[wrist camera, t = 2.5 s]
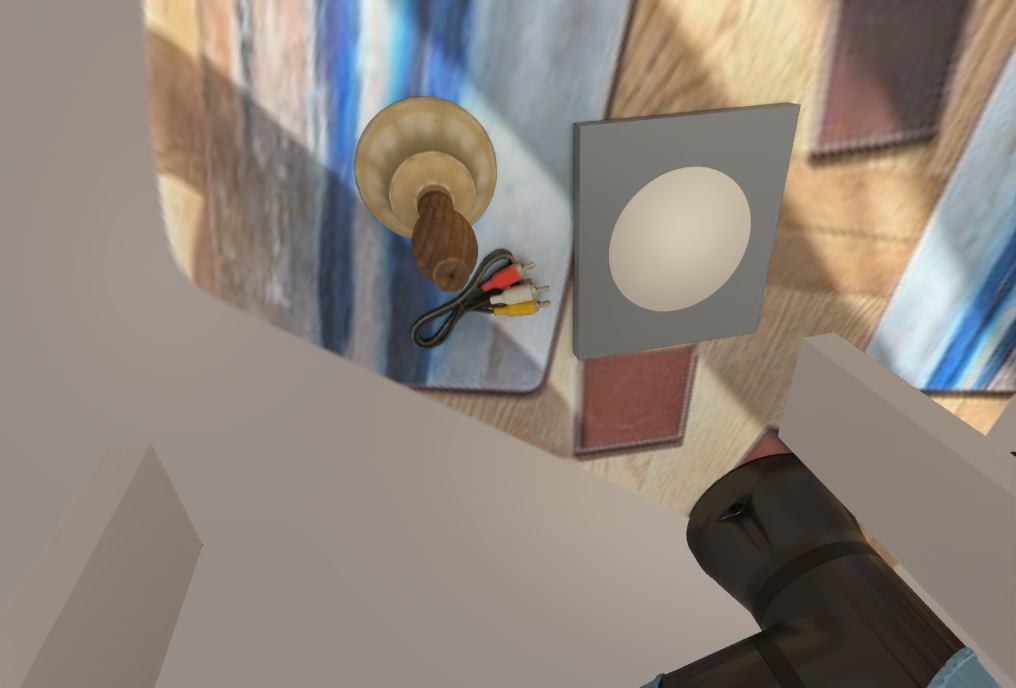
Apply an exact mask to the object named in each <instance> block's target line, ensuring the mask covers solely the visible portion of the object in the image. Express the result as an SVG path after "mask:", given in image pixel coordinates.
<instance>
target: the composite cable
mask: <svg viewBox="0 0 1016 688" xmlns="http://www.w3.org/2000/svg"><path fill="white" fill-rule="evenodd" d="M500 259H508V260H509V264H508V267H506V268H504V269H502V270H500V271H498V272H496V273H494V274H493V276H492V278H491V279H490V280H489V281H486V282H485V283H482V284H481V287H480V288H479V289H477V286H478V284H479V282H480V280H481V279H482V277H483V275H484V274H485V273H486V271H487V269H488V268H489V267H490V266H491V265H492V264H493V263H495V262H497V261H498V260H500ZM533 267H535V262H531V263H529V264H526V265H523V264H521V263H518V264H516V263H515V259H514V258H513V256H512V254H511V253H510V252H509V251H507V250H504V249H499V250H496V251H494V252H493V253H492V254H491V255H489V256H487V257H486V258H485V259H484V261H483V262H482V264H481V265H480V267H479V269H478V270H477V272H476V274H475V276H474V277H473V279H472V280H471V282H470V284H469V285H468V286H467V288H466V289H465V290H464V291H463V292H462V293H461V294H460V295H459V296H458V297H457V298H455V299H453V300H452V301H450V302H448V303H446V304H444V305H442V306H440V307H438V308H437V309H435V310H433V311H431V312H429V313H428V314H426V315H425V316H423V317H421V318H420V319H419V320H418V321H417V322H416V323H415V325H414V326H413V329H412V332H411V340H412V342H413V344H414V345H415V346H416V347H417V348H421V349H432V348H434V347H437V346H439V345H441V344H442V343H443V342H444V341H445V340H446V339H447V338H448V336H449V335H450V333H451V332H452V330H453V328H454V326H455V324H456V323H457V322H458V320H460V318H461V317H462V316H463V315H464V314H465V313H466V312H469V311H477V312H481V313H486V314H491V313H494V315H499V314H507V315H509V316H511V317H514V316H522V315H530V314H534V313H536V312H538V310H539V308H541V307H548V306H549V307H550V305H551V303H550V301H549V300H547V301H544V302H540V301H536V300H534V298H536V297H537V295H538V293H542V292H546V291H548V290H549V286H543V287H538V288H537V287H536V286H535V285H534V284H532V282H531V279H527V280H523V281H519V280H521V279H522V278H523V277H524V276H525V272H526V271H527V270H528V269H531V268H533ZM499 303H505V305H501V306H497V304H499ZM483 308H485V309H483ZM488 308H493V309H491V310H489V309H488ZM451 310H454V311H453V313H452V314H451V316H450V317H449V318H448V319H447V321H446V322H445V324H444V325H443V326H442V328H441V329H440V330H439V332H438V333H437V334H436V335H435V336H433V337H432V338H430V339H427V340H425V339H422V338H421V337H420V335H419V332H420V330H421V329H422V327H423V326H425V325H426V324H427V323H429V322H430V321H432V320H434V319H436V318H437V317H440V316H442V315H444V314H446V313H448V312H449V311H451Z"/></svg>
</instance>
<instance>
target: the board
mask: <svg viewBox="0 0 1016 688" xmlns="http://www.w3.org/2000/svg"><path fill="white" fill-rule="evenodd" d="M800 106H801V105H798V104H793V103H779V104H768V105H758V106H747V107H737V108H726V109H716V110H705V111H695V112H684V113H674V114H663V115H653V116H642V117H632V118H621V119H611V120H600V121H590V122H579V123H574V324H573V352H574V354H575V356H576V357H577V359H578V360H585V359H591V358H597V357H604V356H610V355H616V354H623V353H629V352H635V351H642V350H648V349H654V348H661V347H667V346H674V345H680V344H686V343H693V342H699V341H705V340H712V339H718V338H724V337H731V336H737V335H743V334H750V333H756V329H757V324H758V319H759V314H760V309H761V304H762V299H763V294H764V289H765V283H766V278H767V273H768V268H769V263H770V258H771V253H772V248H773V243H774V238H775V233H776V228H777V223H778V217H779V212H780V207H781V202H782V197H783V192H784V187H785V182H786V177H787V172H788V167H789V162H790V156H791V151H792V146H793V141H794V136H795V131H796V126H797V121H798V116H799V111H800Z"/></svg>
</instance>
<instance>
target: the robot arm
mask: <svg viewBox="0 0 1016 688" xmlns="http://www.w3.org/2000/svg"><path fill="white" fill-rule="evenodd" d="M778 437H779V438H780V439H781V440H782V441H783V442H784V443H785V444H786V445H787V446H788V447H789V448H790V449H791V451H792V452H793V453H794V454H795V455H777V456H771V457H767V458H763V459H760V460H757V461H754V462H752V463H749V464H747V465H745V466H743V467H741V468H739V469H737V470H735V471H733V472H732V473H730V474H729V475H727V476H726V477H724V478H723V479H722V480H720V481H719V482H718V483H717V484H715V485H714V486H713V487H712V488H711V489H710V490H709V491H708V492H707V493H706V494H705V495H704V496H703V498H702V499H701V500H700V501H699V503H698V504H697V506H696V507H695V509H694V511H693V512H692V515H691V517H690V519H689V522H688V526H687V542H688V546H689V548H690V550H691V551H692V553H693V555H694V557H695V558H696V560H697V562H698V563H699V565H700V566H701V568H702V569H703V570H704V571H705V573H706V574H708V575H709V576H710V577H711V578H713V579H714V580H715V581H716V582H717V583H718V584H719V585H720V586H721V587H723V589H725V590H726V591H727V592H728V593H729V594H730V595H731V596H732V597H734V598H735V599H736V600H737V601H738V602H739V603H741V604H742V605H743V606H744V607H745V608H746V609H747V610H748V611H749V612H750V613H751V614H752V616H753V617H754V619H755V620H756V622H757V624H758V625H759V627H760V628H761V630H762V631H761V632H759V633H757V634H755V635H753V636H751V637H748V638H746V639H743V640H741V641H739V642H737V643H735V644H732V645H730V646H728V647H726V648H724V649H721V650H719V651H717V652H715V653H713V654H710V655H708V656H706V657H704V658H702V659H699V660H697V661H695V662H693V663H691V664H688V665H686V666H684V667H682V668H680V669H677V670H676V671H673V672H670V673H668V674H666V675H665V674H664V673H662V674H659V675H658V676H656V678H655V680H653V681H651V682H650V683H648V684H646V685H644V686H642V687H640V688H1002V687H1001V686H1000V685H999V684H998V683H997V682H996V681H995V680H994V678H993V677H992V676H991V675H990V674H989V673H988V671H987V670H986V669H985V668H984V667H983V666H982V665H981V663H980V662H979V661H978V657H977V655H976V654H975V653H974V651H973V650H972V649H971V648H969V647H966V646H965V645H964V644H963V643H962V642H961V641H960V640H959V639H958V637H957V636H956V635H955V634H954V633H953V632H952V631H951V630H950V629H949V628H948V627H947V626H946V625H945V624H944V623H943V622H942V621H941V620H940V618H938V616H937V615H936V614H935V613H934V612H933V611H932V610H931V609H930V608H929V607H928V606H927V605H926V604H925V603H924V602H923V601H922V599H921V598H920V597H919V596H918V595H917V594H916V593H915V592H914V591H913V590H912V589H911V588H910V587H909V586H908V585H907V584H906V583H905V582H904V581H903V579H901V578H900V576H898V574H897V573H896V572H895V571H894V570H893V569H892V568H891V567H890V566H889V565H888V564H887V563H886V562H885V561H884V560H883V559H882V558H881V557H880V555H879V554H878V553H877V552H876V551H875V550H874V549H873V548H872V547H871V546H870V545H869V543H868V542H867V541H866V539H865V537H864V535H863V533H862V531H861V529H860V526H859V524H858V522H857V520H856V518H857V519H858V521H859V522H860V523H861V524H862V525H863V526H864V527H865V528H866V529H867V530H868V531H869V532H870V533H871V534H872V535H873V536H874V537H875V538H876V539H877V540H878V541H879V542H880V544H881V545H882V546H883V547H884V548H885V549H886V550H887V551H888V552H889V553H890V554H891V555H892V556H893V557H894V558H895V559H896V560H897V561H898V562H899V563H900V564H901V565H902V566H903V567H904V569H905V570H906V571H907V572H908V573H909V574H911V576H912V577H913V578H914V579H915V580H916V581H917V582H918V583H919V584H920V585H921V586H922V587H923V588H924V589H925V590H926V592H927V593H928V594H929V595H931V597H932V598H933V599H934V600H935V601H936V602H937V603H938V604H939V605H940V606H941V607H942V608H943V609H944V610H945V611H946V612H947V614H949V616H950V617H951V618H952V619H953V620H954V621H955V622H956V623H957V624H958V625H959V626H960V627H961V628H962V629H963V630H964V631H965V632H966V633H967V634H968V635H969V637H971V638H972V640H973V641H974V642H975V643H976V644H977V645H978V646H979V647H980V648H981V649H982V650H983V651H984V652H985V653H986V654H987V655H988V656H989V657H990V658H991V659H992V661H993V662H994V663H995V664H996V665H997V666H998V667H999V668H1000V669H1001V670H1002V671H1003V672H1004V673H1005V674H1006V675H1007V676H1008V677H1009V678H1010V679H1011V680H1012V681H1013V682H1014V684H1015V685H1016V452H1011V453H1009V452H1008V451H1006V450H1005V449H1003V448H1002V447H1001V446H999V445H997V444H996V443H995V442H993V441H992V440H990V439H989V438H987V437H986V436H985V435H983V434H982V433H980V432H979V431H977V430H976V429H974V428H973V427H971V426H970V425H968V424H967V423H966V422H964V421H963V420H961V419H960V418H958V417H957V416H955V415H954V414H952V413H951V412H950V411H948V410H947V409H945V408H944V407H942V406H941V405H939V404H938V403H936V402H935V401H934V400H932V399H931V398H929V397H928V396H926V395H925V394H923V393H922V392H920V391H919V390H918V389H916V388H915V387H913V386H912V385H910V384H909V383H907V382H906V381H904V380H903V379H902V378H900V377H899V376H897V375H896V374H894V373H893V372H891V371H890V370H888V369H887V368H886V367H884V366H883V365H881V364H880V363H878V362H877V361H875V360H874V359H872V358H871V357H870V356H868V355H867V354H865V353H864V352H862V351H861V350H859V349H858V348H856V347H855V346H853V345H852V344H851V343H849V342H848V341H846V340H845V339H843V338H842V337H840V336H839V335H837V334H836V333H829V334H823V335H817V336H811V337H805V338H803V339H802V343H801V347H800V351H799V355H798V359H797V363H796V367H795V371H794V375H793V379H792V383H791V387H790V391H789V395H788V398H787V402H786V406H785V410H784V414H783V418H782V422H781V426H780V430H779V434H778ZM855 517H856V518H855ZM202 545H203V544H202V542H201V541H200V539H199V537H198V535H197V533H196V531H195V529H194V527H193V525H192V523H191V521H190V519H189V517H188V515H187V513H186V511H185V509H184V507H183V505H182V503H181V501H180V499H179V497H178V495H177V493H176V491H175V489H174V487H173V485H172V483H171V481H170V480H169V477H168V475H167V474H166V471H165V469H164V467H163V465H162V463H161V461H160V460H159V458H158V456H157V454H156V452H155V450H154V448H153V446H152V444H145V445H138V446H132V447H127V448H120V449H114V450H107V451H105V453H104V454H103V456H102V458H101V459H100V461H99V462H98V464H97V466H96V467H95V469H94V470H93V472H92V474H91V475H90V477H89V478H88V480H87V481H86V483H85V485H84V486H83V488H82V489H81V491H80V493H79V494H78V496H77V497H76V499H75V500H74V502H73V503H72V505H71V507H70V508H69V510H68V511H67V513H66V514H65V516H64V518H63V519H62V521H61V522H60V524H59V525H58V527H57V529H56V530H55V532H54V533H53V535H52V536H51V538H50V540H49V541H48V543H47V544H46V546H45V548H44V549H43V551H42V552H41V554H40V555H39V557H38V559H37V560H36V562H35V563H34V565H33V566H32V568H31V570H30V571H29V573H28V574H27V576H26V578H25V579H24V581H23V582H22V584H21V585H20V587H19V589H18V590H17V592H16V593H15V595H14V596H13V598H12V600H11V601H10V603H9V604H8V606H7V607H6V609H5V611H4V612H3V614H2V615H1V617H0V688H155V685H156V682H157V679H158V676H159V673H160V670H161V667H162V664H163V661H164V658H165V655H166V652H167V649H168V646H169V643H170V640H171V637H172V634H173V631H174V629H175V625H176V623H177V619H178V617H179V613H180V611H181V608H182V605H183V601H184V598H185V596H186V592H187V590H188V587H189V584H190V581H191V578H192V575H193V572H194V569H195V566H196V563H197V560H198V557H199V554H200V551H201V548H202Z"/></svg>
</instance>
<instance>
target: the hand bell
mask: <svg viewBox="0 0 1016 688" xmlns="http://www.w3.org/2000/svg"><path fill="white" fill-rule="evenodd" d="M354 165H355V178H356V184H357V187H358V190H359V193H360V195H361V198H362V200H363V202H364V204H365V205H366V207H367V208H368V210H369V211H370V213H371V214H372V215H373V216H374V217H375V218H376V219H377V220H378V221H379V222H380V223H381V224H382V225H384V226H385V227H386V228H388V229H389V230H391V231H393V232H394V233H396V234H398V235H401V236H403V237H406V238H410V239H411V249H412V255H413V259H414V262H415V264H416V266H417V268H418V269H419V271H420V272H421V273H422V274H423V275H424V276H425V277H426V278H427V279H428V280H429V281H430V282H432V283H434V284H435V285H436V286H437V287H438V288H439V289H440V290H442V291H445V292H449V293H452V292H458V291H460V290H462V289H463V288H464V287H465V285H466V284H467V282H468V279H469V276H470V275H471V274H472V272H473V270H474V268H475V265H476V262H477V257H478V244H477V240H476V236H475V234H474V231H473V229H472V227H471V225H473V224H474V223H475V222H476V221H477V220H478V219H479V218H480V217H481V215H482V214H483V213H484V211H485V210H486V208H487V207H488V205H489V203H490V201H491V198H492V196H493V193H494V189H495V185H496V179H497V164H496V157H495V152H494V149H493V146H492V143H491V141H490V139H489V137H488V135H487V133H486V131H485V130H484V128H483V127H482V126H481V124H480V123H479V122H478V121H477V120H476V119H475V118H474V117H473V116H472V115H471V114H470V113H469V112H467V111H466V110H465V109H463V108H461V107H460V106H458V105H456V104H454V103H452V102H449V101H446V100H443V99H440V98H435V97H423V96H421V97H412V98H408V99H404V100H400V101H398V102H395V103H393V104H392V105H390V106H388V107H386V108H385V109H383V110H382V111H381V112H379V113H378V114H377V115H376V116H375V117H374V118H373V119H372V120H371V121H370V123H369V124H368V125H367V127H366V128H365V130H364V131H363V133H362V135H361V138H360V140H359V143H358V146H357V150H356V155H355V163H354Z"/></svg>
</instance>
